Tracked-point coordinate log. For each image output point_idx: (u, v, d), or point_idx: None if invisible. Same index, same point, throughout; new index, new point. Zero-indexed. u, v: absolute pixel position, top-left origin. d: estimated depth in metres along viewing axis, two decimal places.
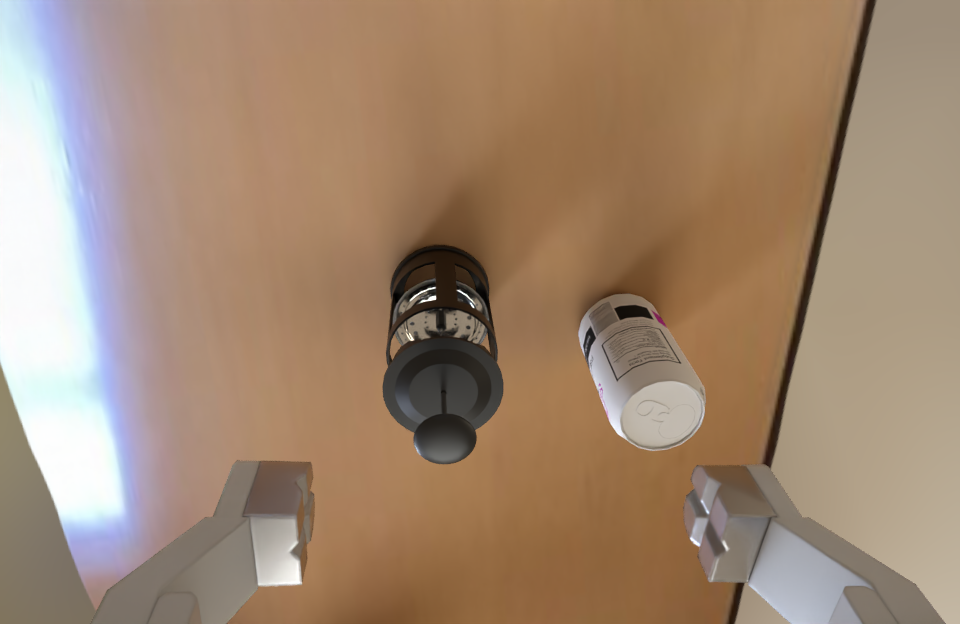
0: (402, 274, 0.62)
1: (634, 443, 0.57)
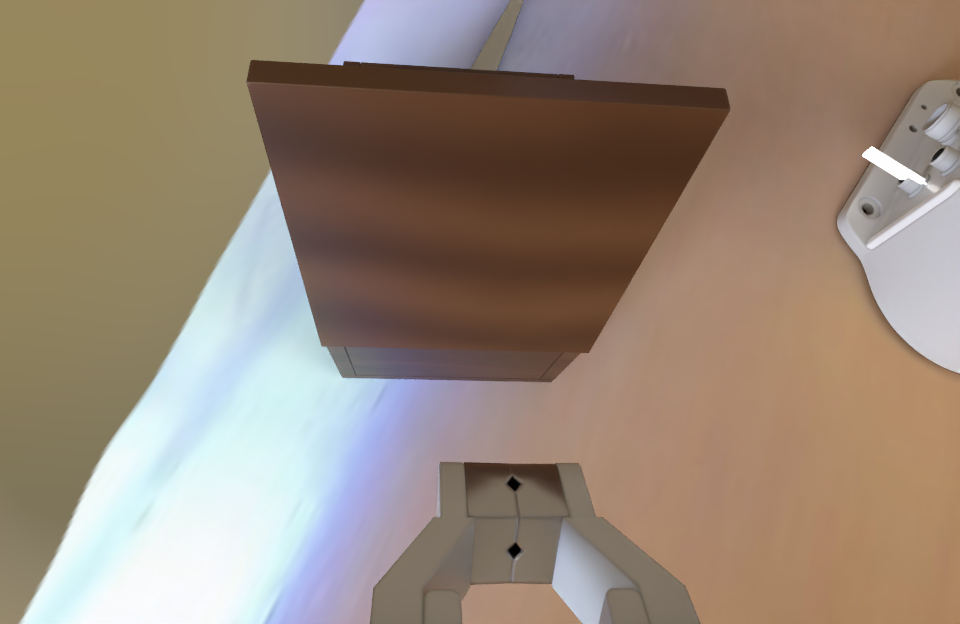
0: None
1: None
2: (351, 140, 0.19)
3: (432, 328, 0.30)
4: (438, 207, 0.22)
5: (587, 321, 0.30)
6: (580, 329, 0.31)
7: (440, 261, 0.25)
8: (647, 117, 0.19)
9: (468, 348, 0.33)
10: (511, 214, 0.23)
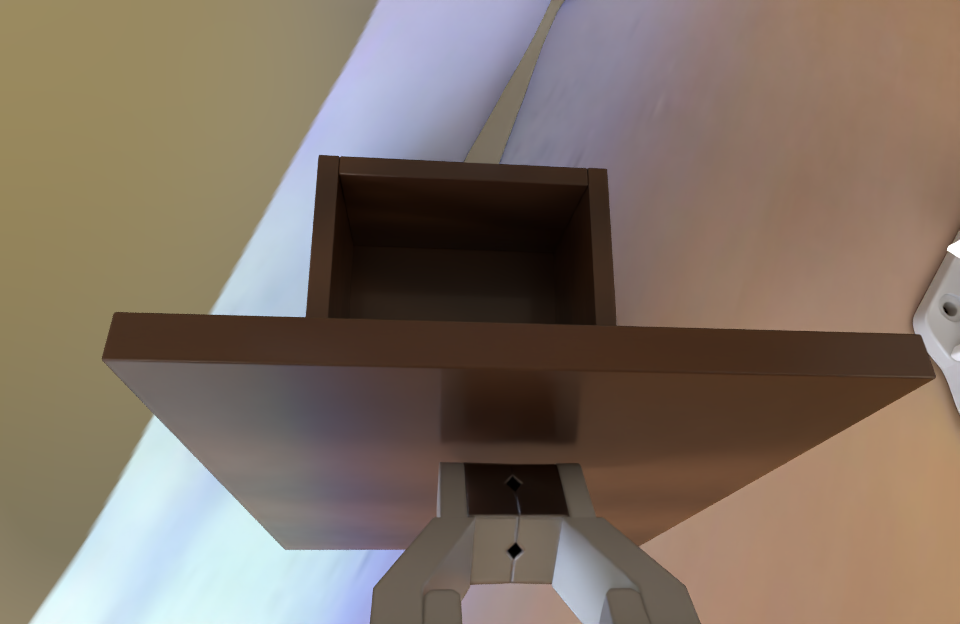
0: None
1: None
2: (298, 411, 0.12)
3: None
4: (440, 461, 0.15)
5: (639, 531, 0.22)
6: (628, 536, 0.23)
7: None
8: (793, 386, 0.11)
9: None
10: None
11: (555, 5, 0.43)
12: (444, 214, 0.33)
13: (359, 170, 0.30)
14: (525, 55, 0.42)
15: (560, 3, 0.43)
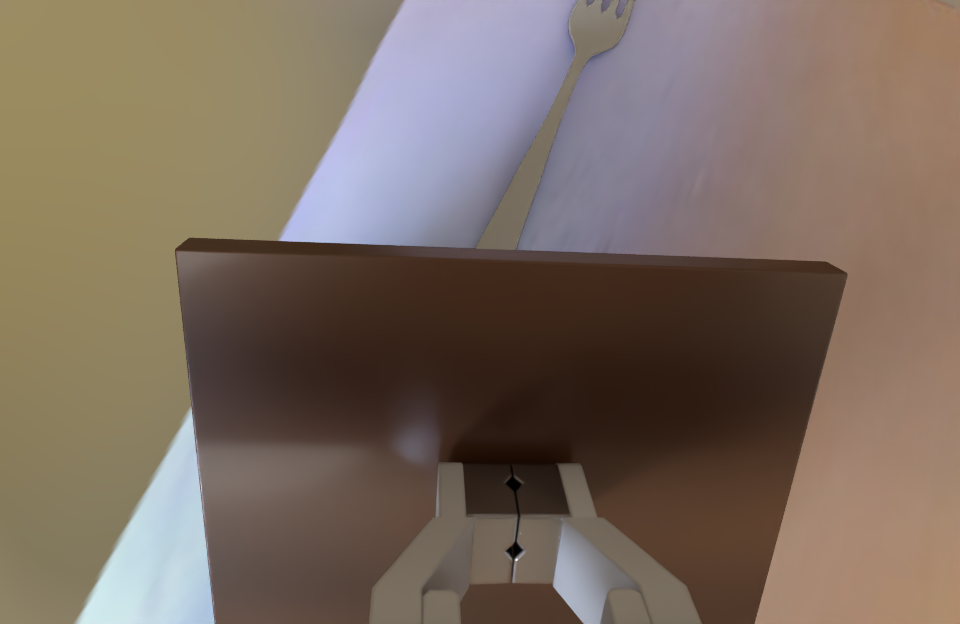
0: None
1: None
2: (318, 354, 0.13)
3: None
4: None
5: None
6: None
7: None
8: (737, 291, 0.13)
9: None
10: None
11: (577, 67, 0.37)
12: None
13: None
14: (543, 126, 0.36)
15: (583, 64, 0.37)
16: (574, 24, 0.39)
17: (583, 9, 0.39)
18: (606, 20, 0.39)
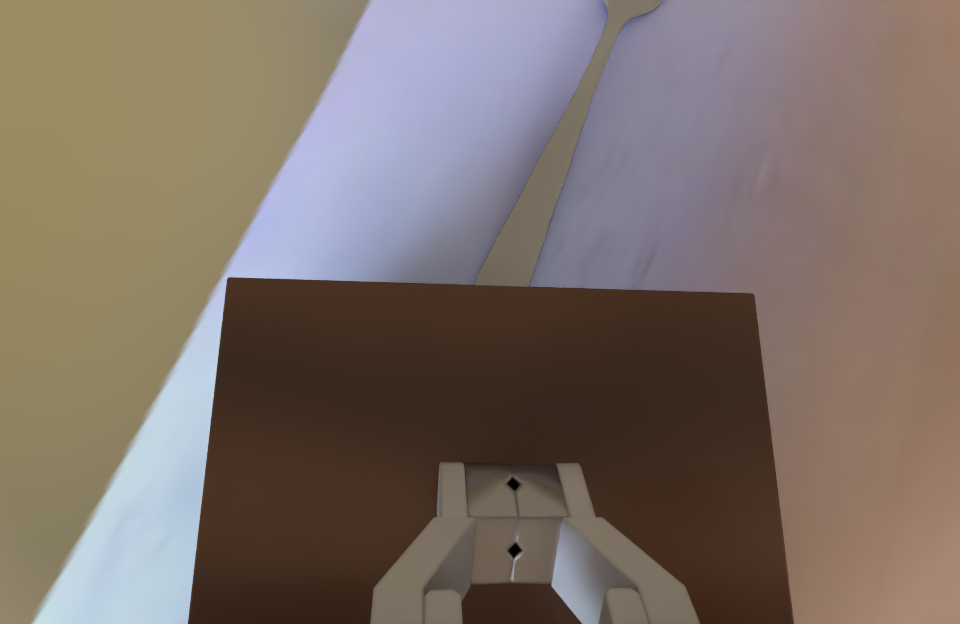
0: None
1: None
2: (330, 363, 0.16)
3: None
4: None
5: None
6: None
7: None
8: (671, 307, 0.17)
9: None
10: None
11: (612, 31, 0.30)
12: None
13: None
14: (570, 105, 0.29)
15: (619, 28, 0.30)
16: None
17: None
18: None
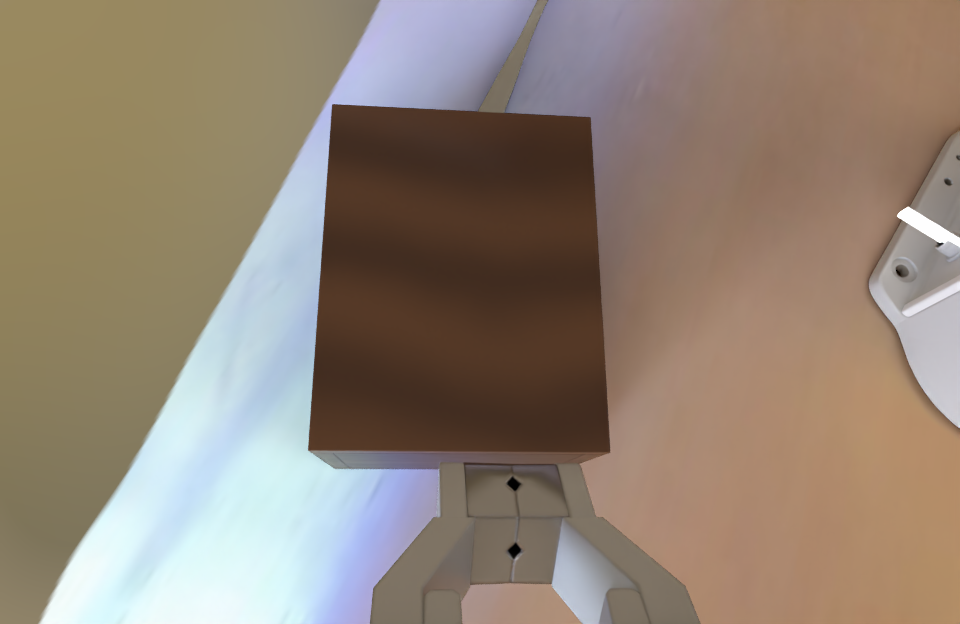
0: None
1: None
2: (382, 142, 0.33)
3: (433, 396, 0.29)
4: (435, 202, 0.32)
5: (585, 372, 0.30)
6: (584, 391, 0.30)
7: (437, 270, 0.31)
8: (548, 122, 0.34)
9: (474, 446, 0.29)
10: (486, 208, 0.32)
11: None
12: None
13: None
14: (516, 44, 0.46)
15: None
16: None
17: None
18: None
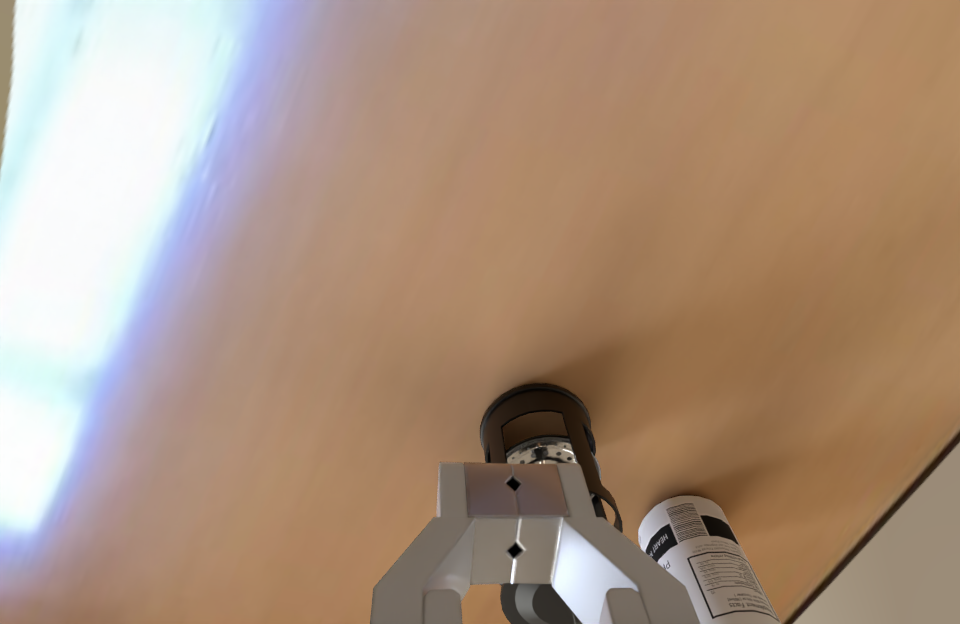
0: (519, 408, 0.54)
1: None
2: None
3: None
4: None
5: None
6: None
7: None
8: None
9: None
10: None
11: None
12: None
13: None
14: None
15: None
16: None
17: None
18: None
